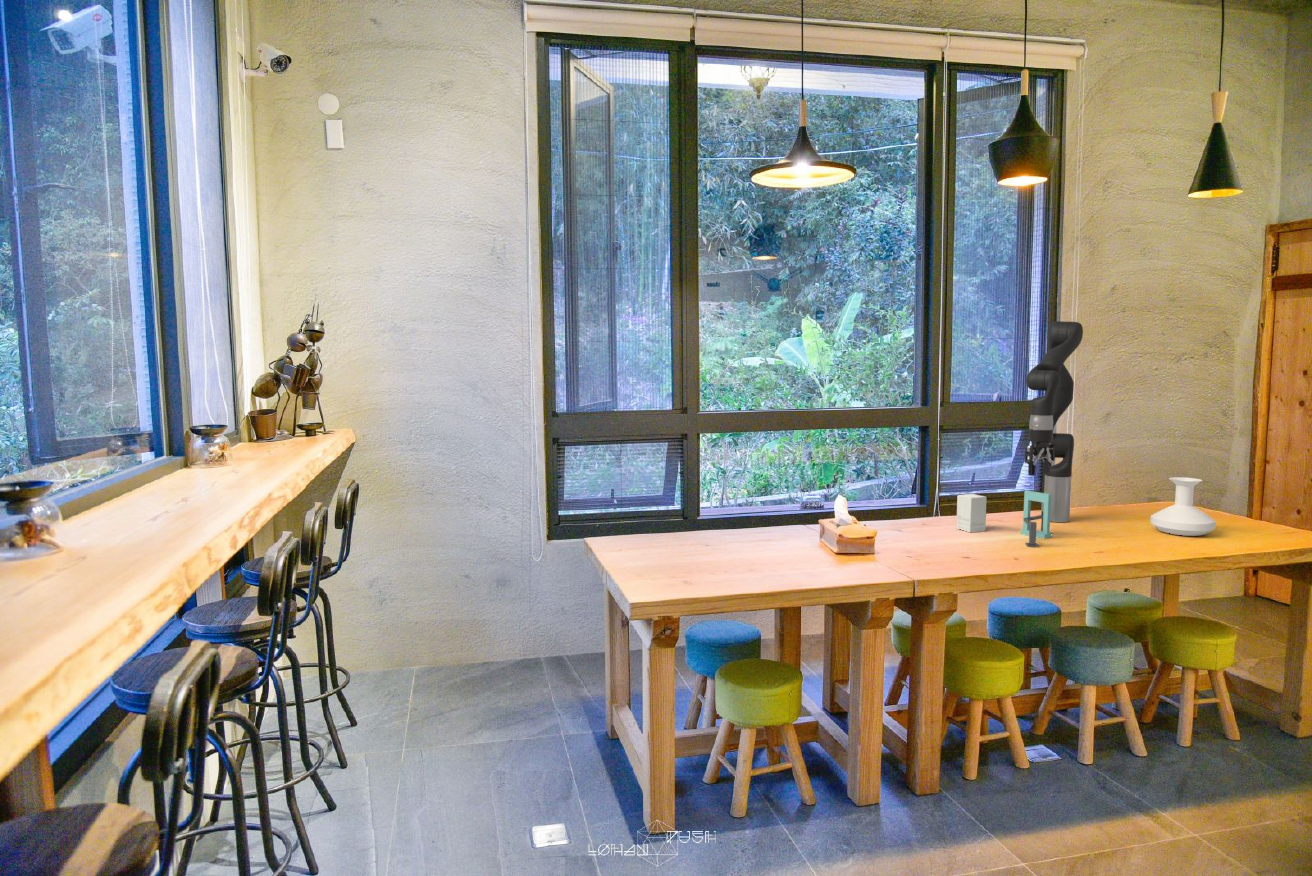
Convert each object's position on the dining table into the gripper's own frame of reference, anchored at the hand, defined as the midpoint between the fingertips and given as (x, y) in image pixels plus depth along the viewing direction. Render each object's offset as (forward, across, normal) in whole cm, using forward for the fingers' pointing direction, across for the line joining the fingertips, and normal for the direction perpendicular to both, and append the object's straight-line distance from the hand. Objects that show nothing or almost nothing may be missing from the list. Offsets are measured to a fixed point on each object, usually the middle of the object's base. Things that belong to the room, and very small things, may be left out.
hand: (1038, 474), depth 306 cm
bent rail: (+22, +5, +4) cm, 23 cm away
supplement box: (+22, +11, -19) cm, 31 cm away
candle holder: (+22, -48, +26) cm, 58 cm away
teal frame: (+22, 0, 0) cm, 22 cm away
